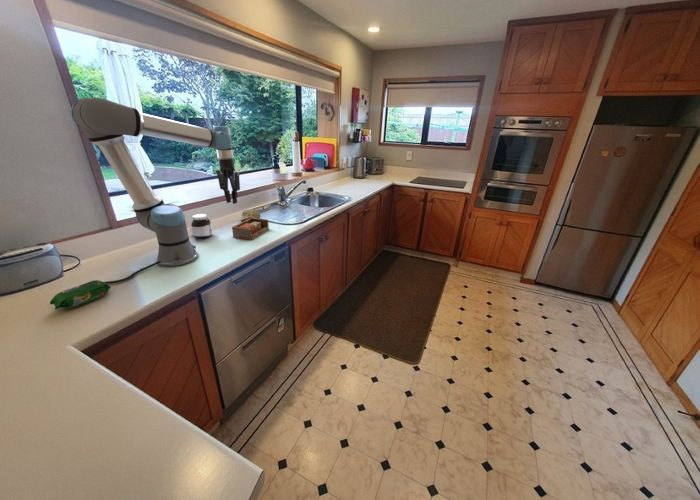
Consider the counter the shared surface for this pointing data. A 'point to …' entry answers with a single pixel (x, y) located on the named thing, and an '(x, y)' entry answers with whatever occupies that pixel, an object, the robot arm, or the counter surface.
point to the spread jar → (201, 226)
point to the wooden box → (250, 228)
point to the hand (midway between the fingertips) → (232, 202)
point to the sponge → (250, 214)
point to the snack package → (80, 294)
